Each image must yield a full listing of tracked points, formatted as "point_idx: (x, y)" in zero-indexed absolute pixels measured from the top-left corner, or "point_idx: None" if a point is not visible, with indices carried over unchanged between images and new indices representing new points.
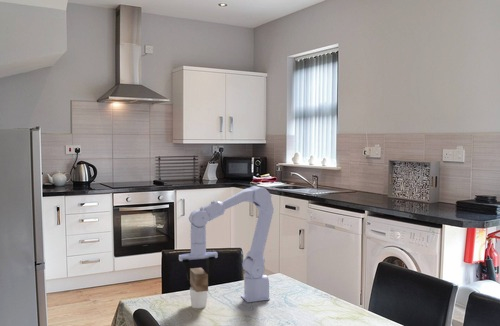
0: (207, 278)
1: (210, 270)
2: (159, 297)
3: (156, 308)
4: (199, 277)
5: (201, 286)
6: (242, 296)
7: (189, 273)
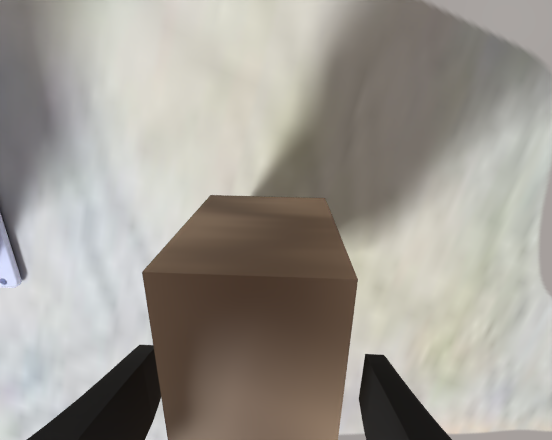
0: (174, 244)
1: (77, 410)
2: (426, 406)
3: (502, 283)
4: (293, 260)
5: (270, 211)
6: (9, 262)
7: (403, 416)
